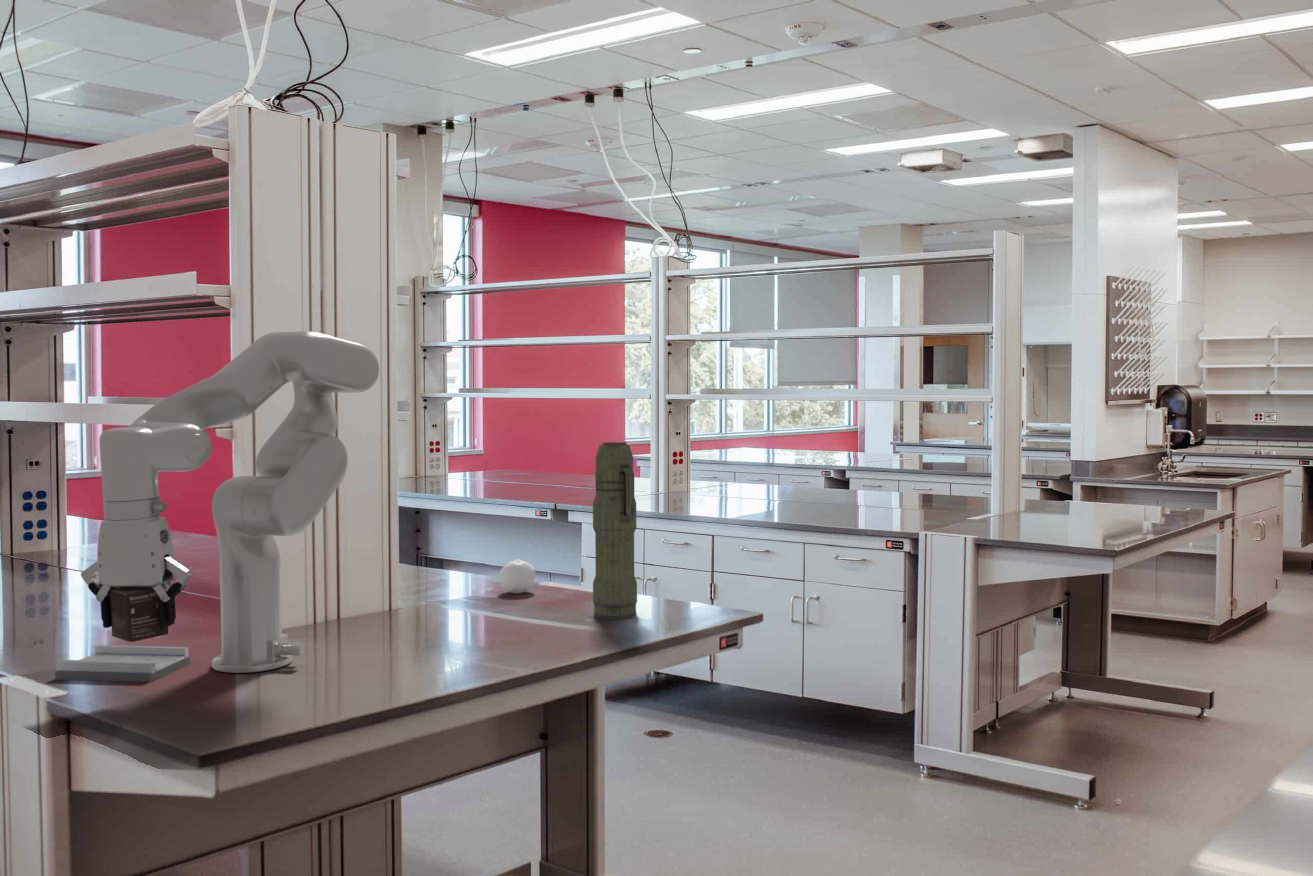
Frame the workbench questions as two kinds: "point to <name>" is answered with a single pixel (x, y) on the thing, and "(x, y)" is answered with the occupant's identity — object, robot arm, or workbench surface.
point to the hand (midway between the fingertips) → (139, 625)
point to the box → (135, 613)
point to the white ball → (517, 576)
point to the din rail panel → (124, 663)
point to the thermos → (614, 533)
